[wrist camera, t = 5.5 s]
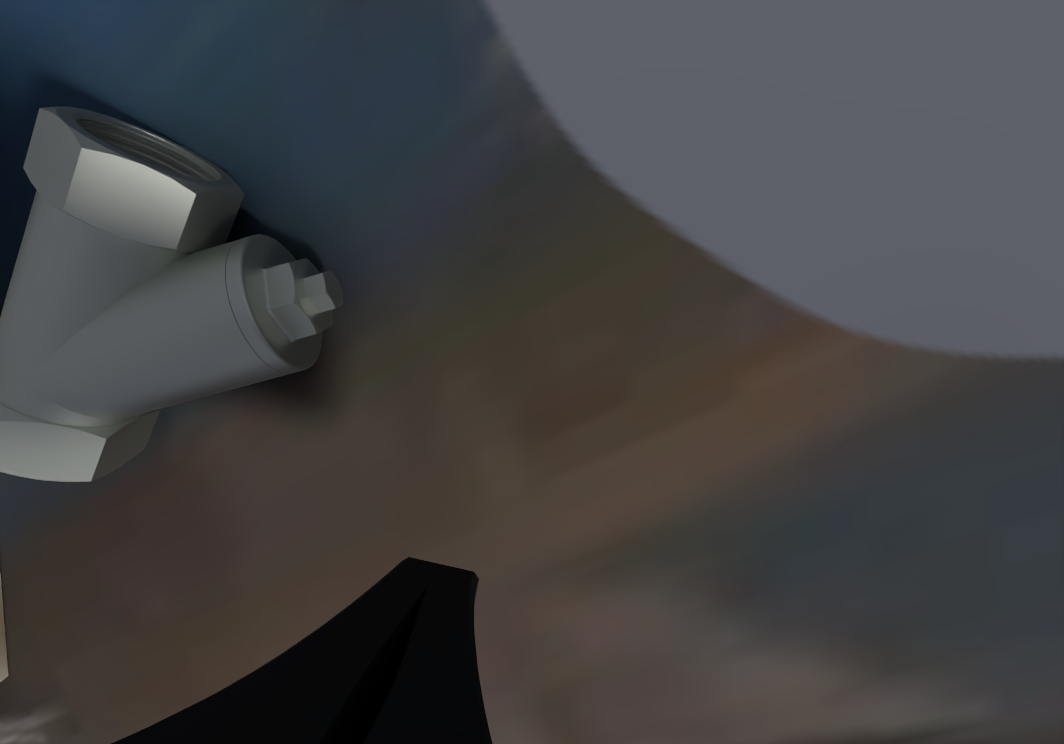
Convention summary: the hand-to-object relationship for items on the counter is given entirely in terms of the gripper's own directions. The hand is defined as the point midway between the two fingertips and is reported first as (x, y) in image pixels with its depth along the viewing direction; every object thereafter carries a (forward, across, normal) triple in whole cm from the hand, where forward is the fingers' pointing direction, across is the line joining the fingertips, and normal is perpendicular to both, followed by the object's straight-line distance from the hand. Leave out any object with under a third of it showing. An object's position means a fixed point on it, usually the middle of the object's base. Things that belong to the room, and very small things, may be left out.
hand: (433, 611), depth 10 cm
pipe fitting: (+6, +8, -3) cm, 11 cm away
